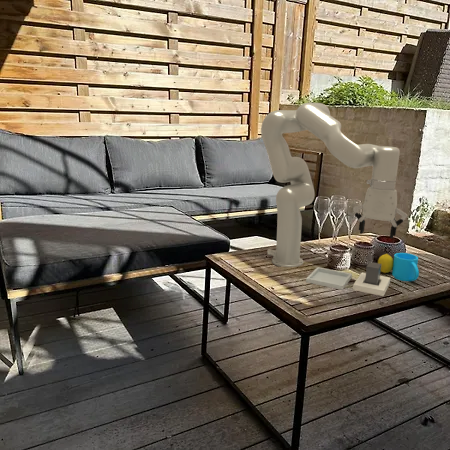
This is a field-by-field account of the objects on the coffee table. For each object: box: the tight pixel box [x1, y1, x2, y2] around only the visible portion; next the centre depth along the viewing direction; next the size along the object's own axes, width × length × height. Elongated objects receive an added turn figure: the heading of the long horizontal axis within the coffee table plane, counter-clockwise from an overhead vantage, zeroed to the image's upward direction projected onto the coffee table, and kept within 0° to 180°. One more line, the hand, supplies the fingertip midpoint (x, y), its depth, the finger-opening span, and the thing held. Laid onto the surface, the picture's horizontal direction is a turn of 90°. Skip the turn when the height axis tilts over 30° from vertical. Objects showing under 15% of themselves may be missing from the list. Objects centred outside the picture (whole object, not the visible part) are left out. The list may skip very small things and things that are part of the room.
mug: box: [391, 252, 420, 282], centre depth 153 cm, size 12×8×8 cm
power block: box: [352, 272, 392, 297], centre depth 146 cm, size 10×13×3 cm
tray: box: [305, 266, 353, 291], centre depth 151 cm, size 13×13×2 cm
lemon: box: [377, 253, 394, 274], centre depth 158 cm, size 6×6×8 cm
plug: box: [365, 261, 382, 286], centre depth 145 cm, size 4×5×8 cm
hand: (376, 234), depth 142 cm, fingers open, 9 cm apart
